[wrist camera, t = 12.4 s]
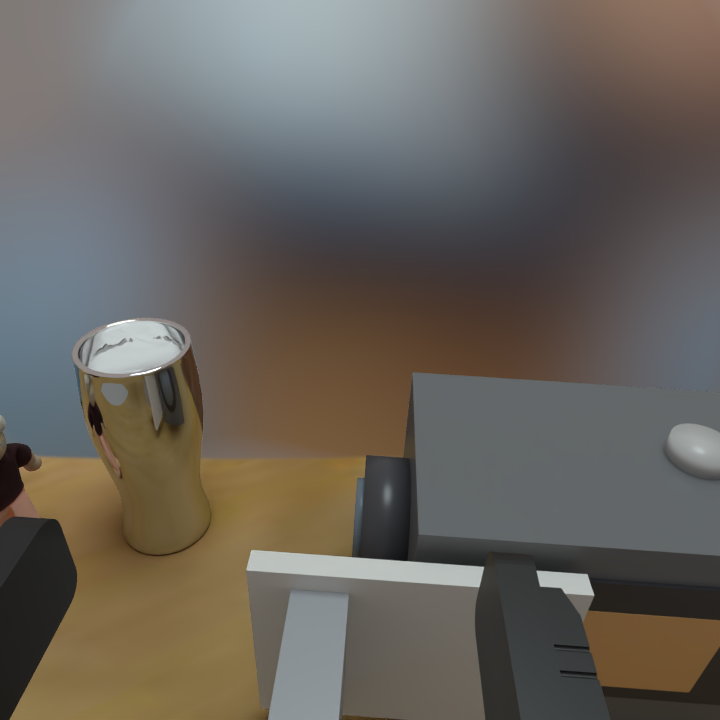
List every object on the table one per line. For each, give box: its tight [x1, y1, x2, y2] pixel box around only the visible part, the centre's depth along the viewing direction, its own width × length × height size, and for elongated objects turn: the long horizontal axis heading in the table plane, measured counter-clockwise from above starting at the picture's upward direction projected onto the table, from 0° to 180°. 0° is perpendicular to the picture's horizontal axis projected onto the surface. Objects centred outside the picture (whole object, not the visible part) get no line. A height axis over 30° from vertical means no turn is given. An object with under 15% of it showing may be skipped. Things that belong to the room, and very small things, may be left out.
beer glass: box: [72, 318, 211, 555], centre depth 38 cm, size 7×7×15 cm
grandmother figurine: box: [0, 415, 42, 527], centre depth 35 cm, size 8×4×13 cm, turn 4°
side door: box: [246, 550, 594, 720], centre depth 24 cm, size 14×7×11 cm, turn 87°
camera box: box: [352, 373, 720, 720], centre depth 32 cm, size 21×12×15 cm, turn 87°
